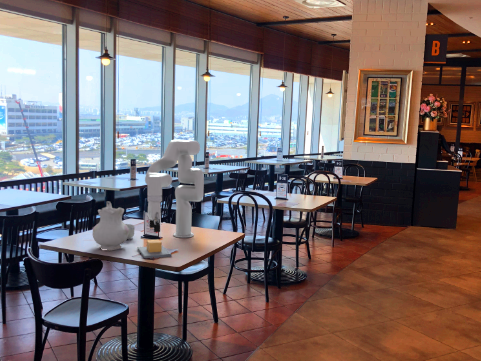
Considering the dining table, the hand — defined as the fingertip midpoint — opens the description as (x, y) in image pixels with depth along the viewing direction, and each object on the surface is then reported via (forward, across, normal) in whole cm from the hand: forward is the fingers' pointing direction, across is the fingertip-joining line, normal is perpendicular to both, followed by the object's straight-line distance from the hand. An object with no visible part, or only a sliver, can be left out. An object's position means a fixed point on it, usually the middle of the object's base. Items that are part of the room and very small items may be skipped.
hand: (154, 229), depth 250 cm
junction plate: (+13, +1, -1) cm, 13 cm away
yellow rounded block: (+11, +1, 0) cm, 11 cm away
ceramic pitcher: (+13, -18, -21) cm, 30 cm away
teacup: (+14, -35, -11) cm, 39 cm away
